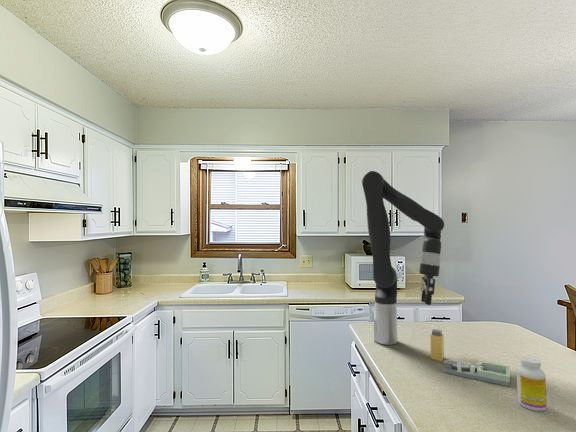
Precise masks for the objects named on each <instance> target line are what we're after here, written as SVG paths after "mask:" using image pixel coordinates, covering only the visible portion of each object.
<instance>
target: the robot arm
mask: <svg viewBox="0 0 576 432" xmlns="http://www.w3.org/2000/svg"><path fill="white" fill-rule="evenodd" d="M361 185H362V189H363V194H364V199H365V202H366V203H365V204H366V219H367V220H366V223H367V230H368V237H369V244H370V249H371V250H370V251H371V254H372V276H373V281H374V284H375V294H374V315H375V316H374V319H373V341H374V342H376V343H378V344H381V345H385V346H386V345H387V346H389V345H390V346H393V345H396V344H398V338H399V337H398V309H397V308H398V307H397V304H398V303H397V299H398V274H397V273H398V272H396V269H395V268H394V267H393V266H392V261H391V252H390V250H391V229H390V228H391V227H390V221H389V217H388V213H387V209H386V206H385V203H384V200H385V201H387V202H388V203H390V204H391V205H392V206H393V207H394V208H396V209H397V210H398V211H399V212H401V213H402V214H403V215H404V216H406V217H408V218H409V220H412V221H414V222H417V223H418V224H420V225H421V226H422V227H423V228H424V229H423V241H422V242H423V244H422V252H421V256H420V262H419V270H418V271H419V275H424V276H422V277H421V285H420V291H421V297H420V302H422V303H424V304H425V305H429V306H431V305H432V299H433V298H432V297H433V296H434V295H435V285H436V278H435V279H434V277H440V276H439V275H440V268H441V267H440V266H441V251H442V250H441V249H442V241H441V238H442V237H441V236H442V230H443V229H444V227H445V222H444V220H443V218H442V217H440V216H439V215H438V214H436V213H434V212H432V211H431V210H428V209H426V208H425V207H423V206H422V205H421V204H419V203H418V202H416V201H415V200H413V199H412V198H411V197H409V196H407V195H406V194H403V193H402V192H400V191H399V190H397V189H396V188H394V187H393V186H392V185H390V183H388V182H387V181H386V180H385V178H384V176H382V174H381V173H380V172H378V171H375V170H370V171H367V172H366V173H365V174H364V175H363V177H362V180H361Z"/></svg>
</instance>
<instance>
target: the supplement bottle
mask: <svg viewBox="0 0 576 432" xmlns="http://www.w3.org/2000/svg"><path fill="white" fill-rule="evenodd" d="M520 364H521V365H519V366H517V368H516V388H517V390H516V391H517V392H516V394H517V402H518V403H519V405H520V406H521V407H523V408H525V409H527V410H531V411H536V412H543V411H545V410H547V407H548V406H547V404H548V403H547V384H546V383H547V381H546V380H547V378H546V377H547V376H546V374H545V372H544V371H543V370H542V369H541V367H542V365H541V364H542V362H541V360H540V359H538V358H535V357H531V356H521V357H520Z"/></svg>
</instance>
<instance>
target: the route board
mask: <svg viewBox="0 0 576 432" xmlns="http://www.w3.org/2000/svg"><path fill="white" fill-rule="evenodd" d="M510 370H511V369H510V366H509V365H504V364H498V363H494V362H493V363H492V362H488V361H484V360H482V361H481V360H478V362H477V363H476V364H472V363H470V362H467V363H466V362H461V361H457V360H450V359H444V360H443V371H444V373H445V374H450V375H454V376H455V375H456V376H460V377H464V378H469V379H473V380H479V381H484V382H488V383H493V384H498V385H502V386H506V387H511V375H510V373H511V372H510Z"/></svg>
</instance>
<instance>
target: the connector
mask: <svg viewBox="0 0 576 432" xmlns="http://www.w3.org/2000/svg"><path fill="white" fill-rule="evenodd" d="M444 341H445V340H444V333H443V330H442V329H436V328H433V329H432V330H431V334H430V359H431V360H434V361H440V362H444V360H445V359H444V358H445V345H444V344H445V343H444Z"/></svg>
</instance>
